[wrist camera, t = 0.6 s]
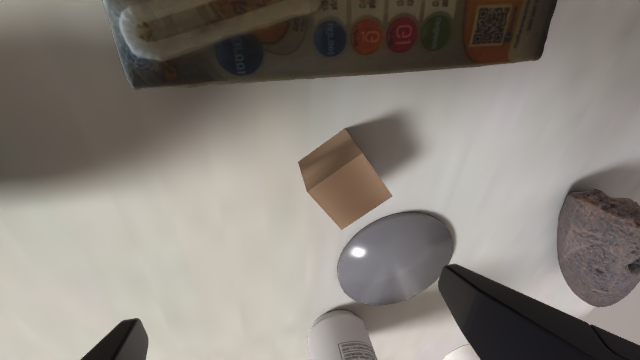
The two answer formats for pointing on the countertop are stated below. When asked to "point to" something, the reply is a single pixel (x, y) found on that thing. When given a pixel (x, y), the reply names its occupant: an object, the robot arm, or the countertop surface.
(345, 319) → the energy drink can
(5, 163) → the countertop surface
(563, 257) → the perforated stone tool
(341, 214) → the walnut block
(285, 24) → the beverage carton
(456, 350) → the cylindrical container
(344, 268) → the coaster
